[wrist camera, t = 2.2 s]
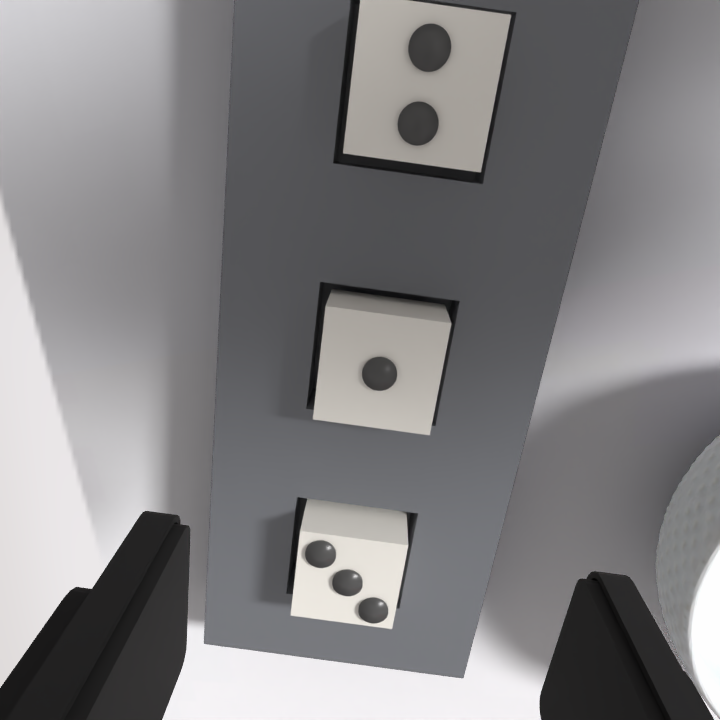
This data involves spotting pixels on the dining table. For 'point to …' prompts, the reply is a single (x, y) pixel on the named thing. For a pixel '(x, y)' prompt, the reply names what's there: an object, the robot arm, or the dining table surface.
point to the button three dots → (349, 563)
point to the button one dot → (381, 361)
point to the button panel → (399, 280)
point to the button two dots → (424, 82)
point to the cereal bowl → (694, 573)
